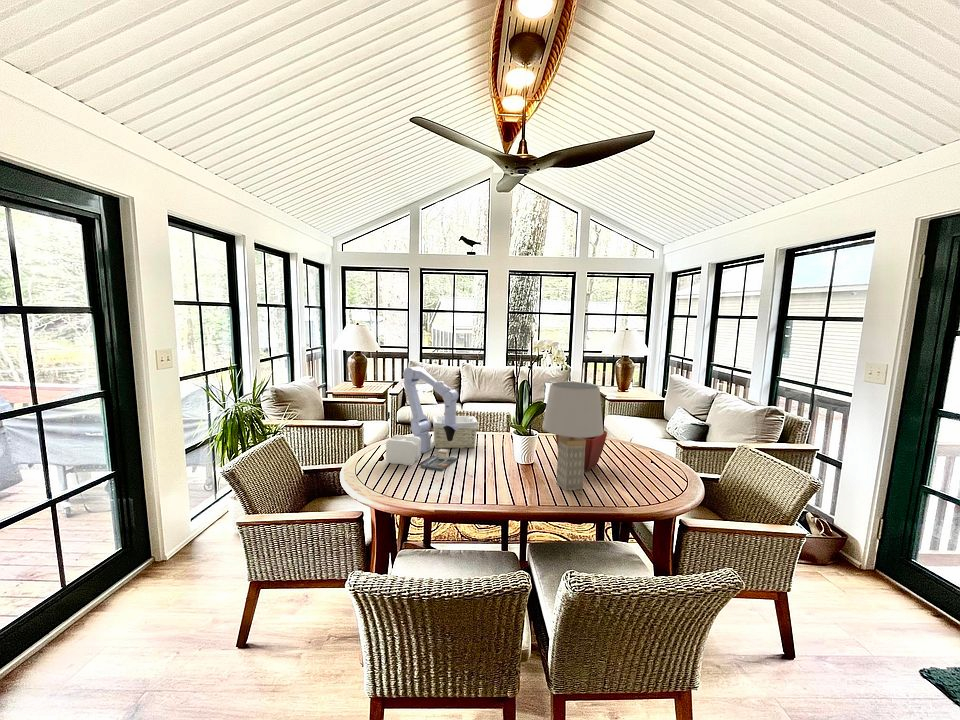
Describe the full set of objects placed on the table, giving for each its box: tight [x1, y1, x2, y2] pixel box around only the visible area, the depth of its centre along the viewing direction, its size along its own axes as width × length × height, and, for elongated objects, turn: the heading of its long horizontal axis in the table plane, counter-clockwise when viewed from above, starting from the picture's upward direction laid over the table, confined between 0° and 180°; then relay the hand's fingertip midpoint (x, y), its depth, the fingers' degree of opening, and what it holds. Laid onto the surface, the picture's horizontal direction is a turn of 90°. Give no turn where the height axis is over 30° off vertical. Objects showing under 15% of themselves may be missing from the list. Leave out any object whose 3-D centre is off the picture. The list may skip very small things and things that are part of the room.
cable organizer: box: [385, 434, 422, 466], centre depth 209 cm, size 15×11×12 cm
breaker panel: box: [420, 454, 458, 472], centre depth 208 cm, size 17×11×2 cm, turn 159°
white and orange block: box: [437, 448, 449, 460], centre depth 211 cm, size 3×4×4 cm
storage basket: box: [432, 415, 479, 449], centre depth 238 cm, size 24×16×15 cm
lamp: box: [541, 381, 605, 492], centre depth 182 cm, size 25×25×44 cm
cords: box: [417, 454, 436, 467], centre depth 211 cm, size 15×2×1 cm, turn 159°
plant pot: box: [555, 430, 608, 472], centre depth 211 cm, size 19×19×17 cm
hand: (449, 440), depth 217 cm, fingers closed
